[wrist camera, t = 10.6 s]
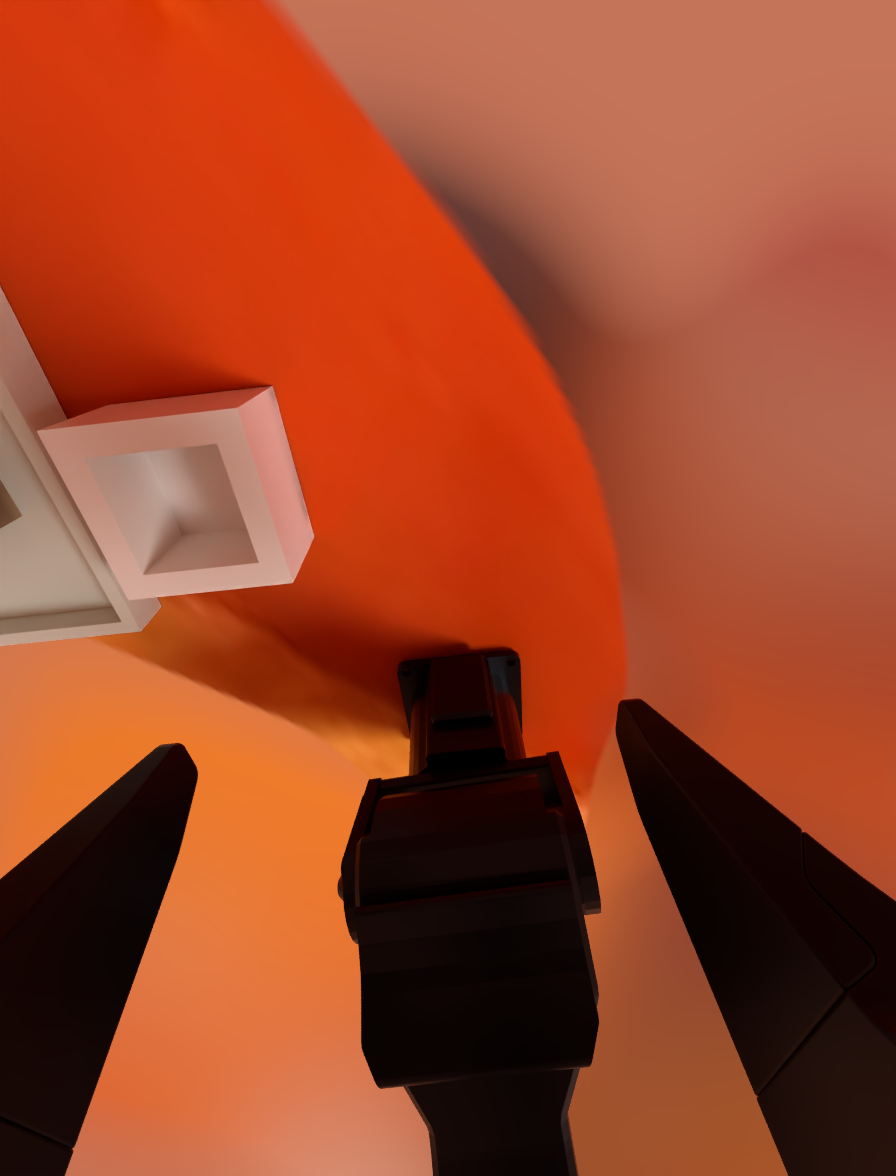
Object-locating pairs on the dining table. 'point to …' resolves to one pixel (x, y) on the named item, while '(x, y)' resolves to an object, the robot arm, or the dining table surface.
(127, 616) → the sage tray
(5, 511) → the walnut peg
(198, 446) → the peg holder
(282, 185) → the dining table surface
